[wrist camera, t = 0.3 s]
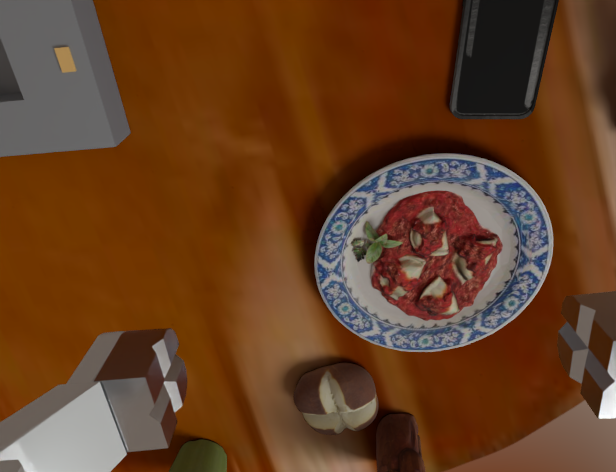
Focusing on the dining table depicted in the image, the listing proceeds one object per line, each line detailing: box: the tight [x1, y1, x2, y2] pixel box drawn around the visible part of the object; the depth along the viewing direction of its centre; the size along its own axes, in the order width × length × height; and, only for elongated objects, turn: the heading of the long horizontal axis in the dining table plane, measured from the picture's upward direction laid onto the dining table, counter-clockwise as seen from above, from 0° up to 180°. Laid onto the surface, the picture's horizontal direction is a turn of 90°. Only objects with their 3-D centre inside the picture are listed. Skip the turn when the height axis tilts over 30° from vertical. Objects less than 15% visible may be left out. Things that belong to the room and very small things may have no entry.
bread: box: [294, 363, 379, 435], centre depth 64 cm, size 11×11×5 cm
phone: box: [450, 0, 559, 119], centre depth 43 cm, size 8×1×15 cm
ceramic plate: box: [314, 153, 553, 352], centre depth 54 cm, size 26×26×3 cm
